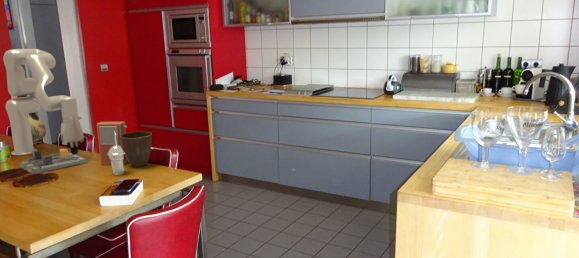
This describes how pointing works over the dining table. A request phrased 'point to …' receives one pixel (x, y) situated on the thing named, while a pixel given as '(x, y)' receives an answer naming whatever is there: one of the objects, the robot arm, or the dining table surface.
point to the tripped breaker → (63, 153)
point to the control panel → (109, 138)
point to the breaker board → (50, 162)
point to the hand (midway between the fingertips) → (74, 153)
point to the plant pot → (137, 147)
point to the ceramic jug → (36, 127)
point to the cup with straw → (117, 157)
